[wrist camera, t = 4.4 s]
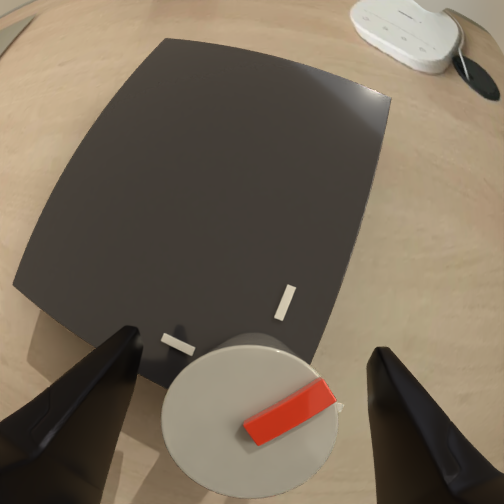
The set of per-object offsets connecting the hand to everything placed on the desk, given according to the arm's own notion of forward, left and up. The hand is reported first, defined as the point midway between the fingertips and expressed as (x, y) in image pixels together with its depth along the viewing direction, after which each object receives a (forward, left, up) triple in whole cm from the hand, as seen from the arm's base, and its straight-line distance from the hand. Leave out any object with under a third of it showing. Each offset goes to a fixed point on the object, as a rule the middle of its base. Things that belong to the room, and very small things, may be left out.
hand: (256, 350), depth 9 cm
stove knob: (-1, +1, -3) cm, 3 cm away
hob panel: (+6, -3, -7) cm, 9 cm away
